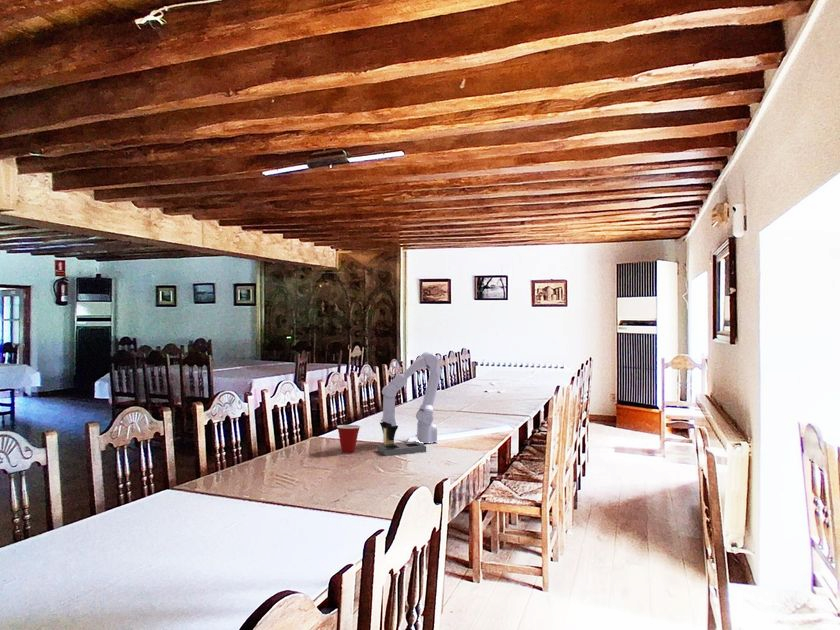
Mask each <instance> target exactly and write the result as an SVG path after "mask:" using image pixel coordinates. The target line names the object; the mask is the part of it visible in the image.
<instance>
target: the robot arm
mask: <svg viewBox="0 0 840 630" xmlns="http://www.w3.org/2000/svg"><path fill="white" fill-rule="evenodd" d="M421 368H427V370H428V371H429V377H428V381H427V384H426V385H427V386H426V388H425V392H424V396H423V401H422V404H421V405H420V406H419V409H418V411H417V412H416V413H415V418H416V420H417V422H416V423H417V424H416V427H417V429H416V431H417V432H416V440H417V439H418V440H419V441H420V442H423V443H421V444H423V445H425V444H424V443H429V442H430V443H431V444H434V443H433V442H436V441H437V442H438V427H437V425H436V424H435V423H433V422H434V402H435V399H436V396H437V395H436V394H437V390H438V386H439V382H440V378H441V374H442V368H441V364H440V359H439V357H438V356H437V355H436V354H435V353H430V352H428V351H427V352H426V351H425V352H423V353H422V354H420V355H419V356H418V357H417V358H416V359H415V360H414V362H412V363H411V365H410V366H409V367H408V368H406V370H405V371H404V372H403V373H399V374H395V376H394V378H393V379H392V380H391V381H390V382H388V383H387V385H384V387H383V388H382V390H381V393H382V395H383V401H382V416H381V418H380V422H379V424H380V425H379V426H380V427H381V430H382V431H383V430H384V427H386V428H387V430H388V437H389V440H394V441H395V436H396V432H397V430H398V428H399V426H398V425H397V421H396V396H397V394H398V392H399V390H401V389H402V388H403V387H404V386H405V385H406V384H407V383H408V379H409V378H410V377H411V376H412V375H413V374H415V373H416V372H417V371H418V370H419V369H421Z"/></svg>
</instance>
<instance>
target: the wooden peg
mask: <svg viewBox="0 0 840 630" xmlns="http://www.w3.org/2000/svg"><path fill="white" fill-rule="evenodd" d="M382 435H383V441H382V443H384V444H385V445H387V444H395V439H394V440H389V437H388V430H387V428H386V427H384V430H382ZM384 444H383V445H384Z"/></svg>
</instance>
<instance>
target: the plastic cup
mask: <svg viewBox="0 0 840 630" xmlns="http://www.w3.org/2000/svg"><path fill="white" fill-rule="evenodd" d="M336 428H337V430H338V437H339V443H340V448H341V453H343V454H353V453H355V451H356V445H357V441H358V435H359V432H360V428H361V426H360V425H357V424H356V425H355V424H342V425H341V424H339V425H336Z"/></svg>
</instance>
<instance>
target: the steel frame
mask: <svg viewBox="0 0 840 630" xmlns="http://www.w3.org/2000/svg"><path fill="white" fill-rule="evenodd" d="M377 451H378V452H379V453H380V452H381V453H380V454H382V455H383V456H384V455H389V456H397V455H396V454H399V455H406V454H405V453H410V454H416V453H415V452H421V453H427V446H426V445H425V444H421V443H419V442H415V441H412V442H402V443H401V442H400V443H394V444H387V445H384V444H379V445H377Z"/></svg>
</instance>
